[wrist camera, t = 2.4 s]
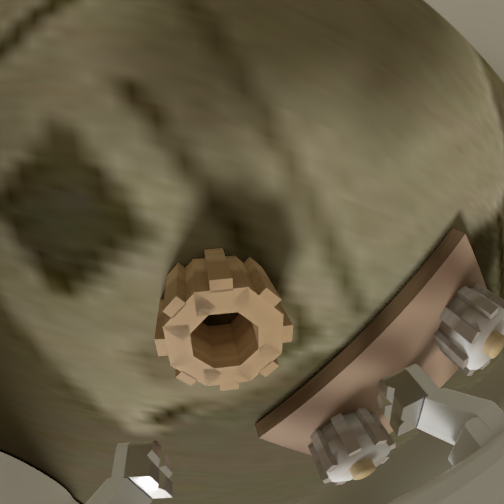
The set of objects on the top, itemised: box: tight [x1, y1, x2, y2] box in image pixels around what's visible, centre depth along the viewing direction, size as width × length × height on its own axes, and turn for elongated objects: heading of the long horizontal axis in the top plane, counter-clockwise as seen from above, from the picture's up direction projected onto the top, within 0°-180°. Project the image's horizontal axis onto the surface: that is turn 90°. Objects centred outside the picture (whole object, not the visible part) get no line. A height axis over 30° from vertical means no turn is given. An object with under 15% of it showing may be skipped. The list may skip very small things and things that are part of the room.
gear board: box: [255, 228, 504, 485], centre depth 21 cm, size 22×14×6 cm, turn 136°
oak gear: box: [155, 248, 293, 391], centre depth 16 cm, size 7×7×4 cm
